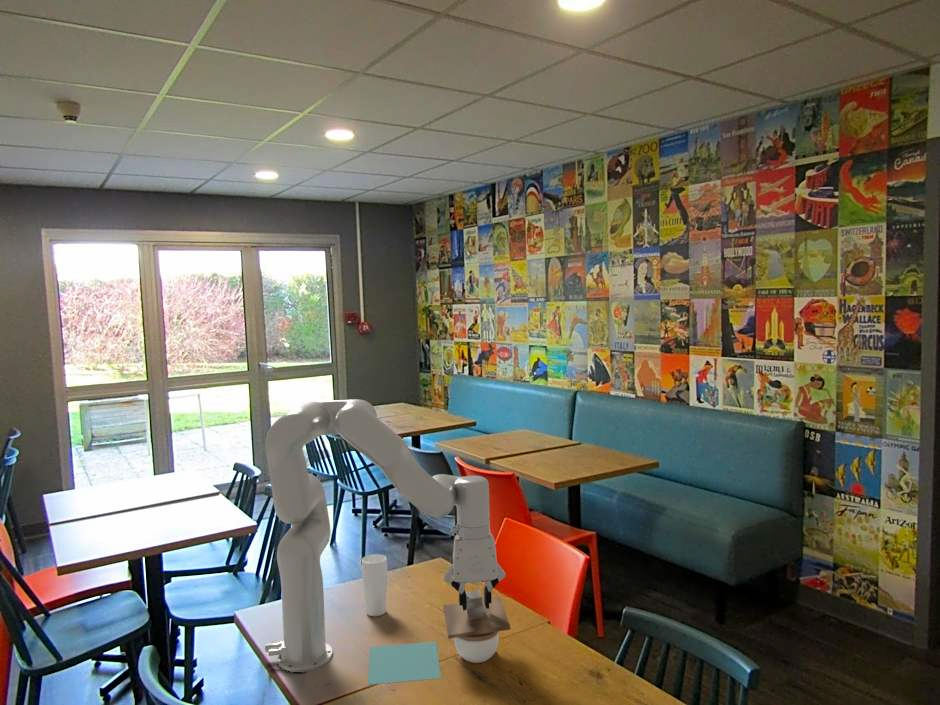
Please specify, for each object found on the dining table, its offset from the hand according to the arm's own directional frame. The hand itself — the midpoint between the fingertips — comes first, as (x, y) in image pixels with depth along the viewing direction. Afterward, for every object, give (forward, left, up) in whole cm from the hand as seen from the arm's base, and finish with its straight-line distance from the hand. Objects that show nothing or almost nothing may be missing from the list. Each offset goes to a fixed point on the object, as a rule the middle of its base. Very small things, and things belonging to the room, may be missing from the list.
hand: (475, 606), depth 151 cm
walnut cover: (0, 0, -3) cm, 3 cm away
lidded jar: (0, 0, -13) cm, 13 cm away
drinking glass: (-24, +27, -13) cm, 38 cm away
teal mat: (-17, 0, -12) cm, 21 cm away
